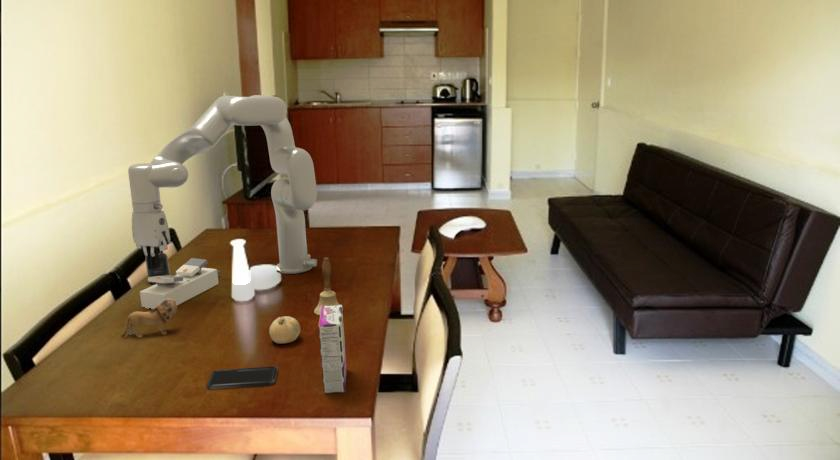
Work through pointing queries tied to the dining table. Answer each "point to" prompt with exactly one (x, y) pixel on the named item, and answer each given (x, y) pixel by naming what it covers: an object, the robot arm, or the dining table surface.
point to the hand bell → (326, 289)
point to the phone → (242, 377)
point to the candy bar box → (332, 348)
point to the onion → (284, 330)
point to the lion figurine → (152, 317)
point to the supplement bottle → (162, 269)
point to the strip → (180, 288)
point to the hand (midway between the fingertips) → (154, 268)
